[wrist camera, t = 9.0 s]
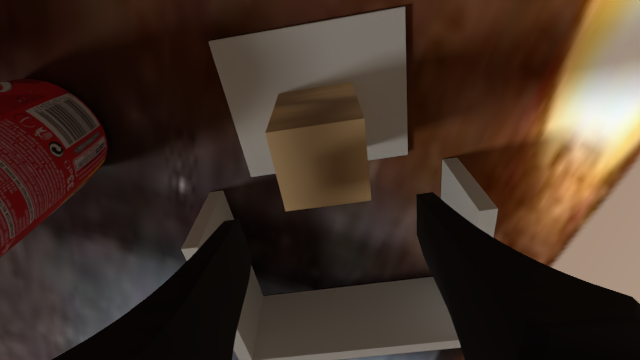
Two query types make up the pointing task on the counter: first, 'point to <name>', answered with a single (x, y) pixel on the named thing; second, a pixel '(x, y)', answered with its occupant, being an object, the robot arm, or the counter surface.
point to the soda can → (42, 153)
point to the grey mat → (318, 77)
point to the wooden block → (319, 147)
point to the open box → (349, 297)
